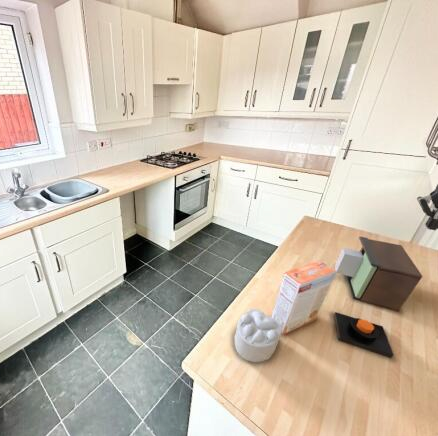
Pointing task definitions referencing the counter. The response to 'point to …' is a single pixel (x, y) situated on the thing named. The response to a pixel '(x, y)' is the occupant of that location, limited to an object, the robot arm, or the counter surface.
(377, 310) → the counter surface
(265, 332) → the lumpy-topped squat cylinder
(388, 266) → the cupboard
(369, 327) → the button
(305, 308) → the cracker box
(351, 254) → the door
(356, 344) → the button box
